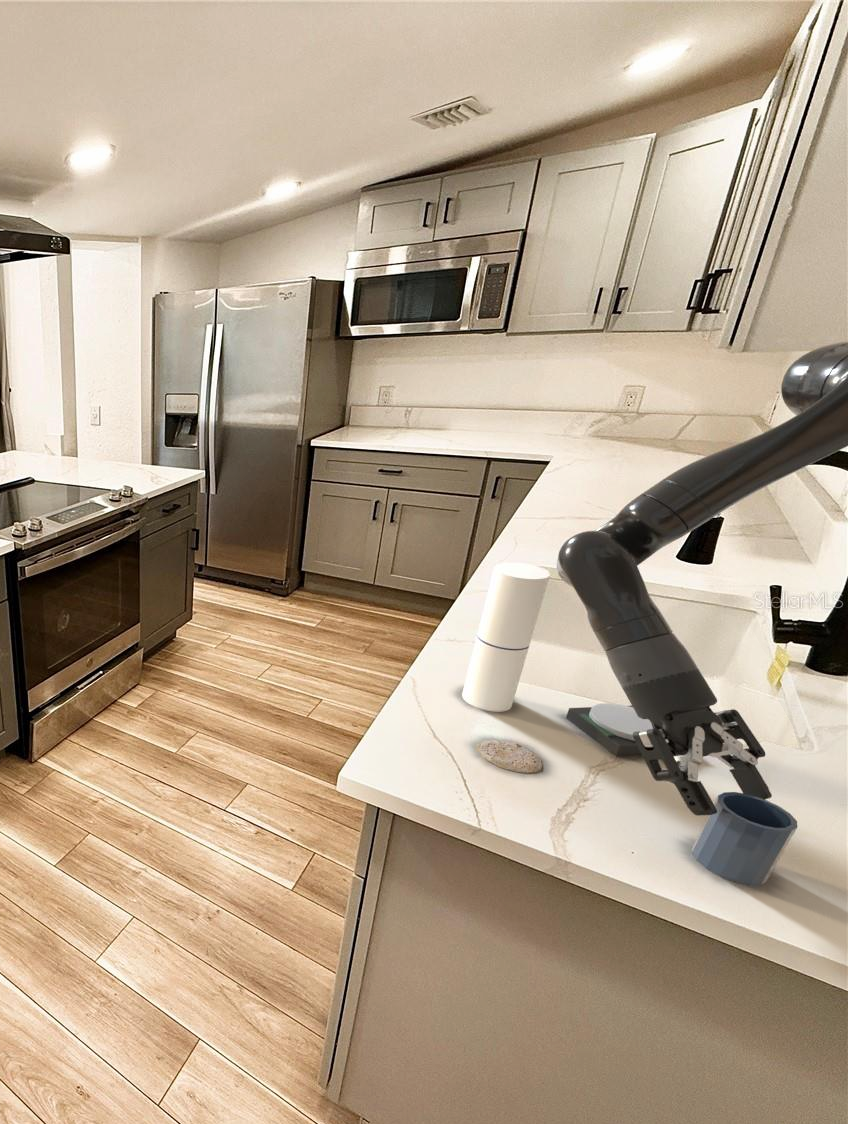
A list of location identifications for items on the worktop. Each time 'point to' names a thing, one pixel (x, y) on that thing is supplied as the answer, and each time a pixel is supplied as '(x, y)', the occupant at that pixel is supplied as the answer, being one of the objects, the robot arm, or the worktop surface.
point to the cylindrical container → (504, 635)
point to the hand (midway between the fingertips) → (733, 806)
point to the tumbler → (744, 838)
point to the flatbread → (510, 756)
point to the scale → (610, 726)
